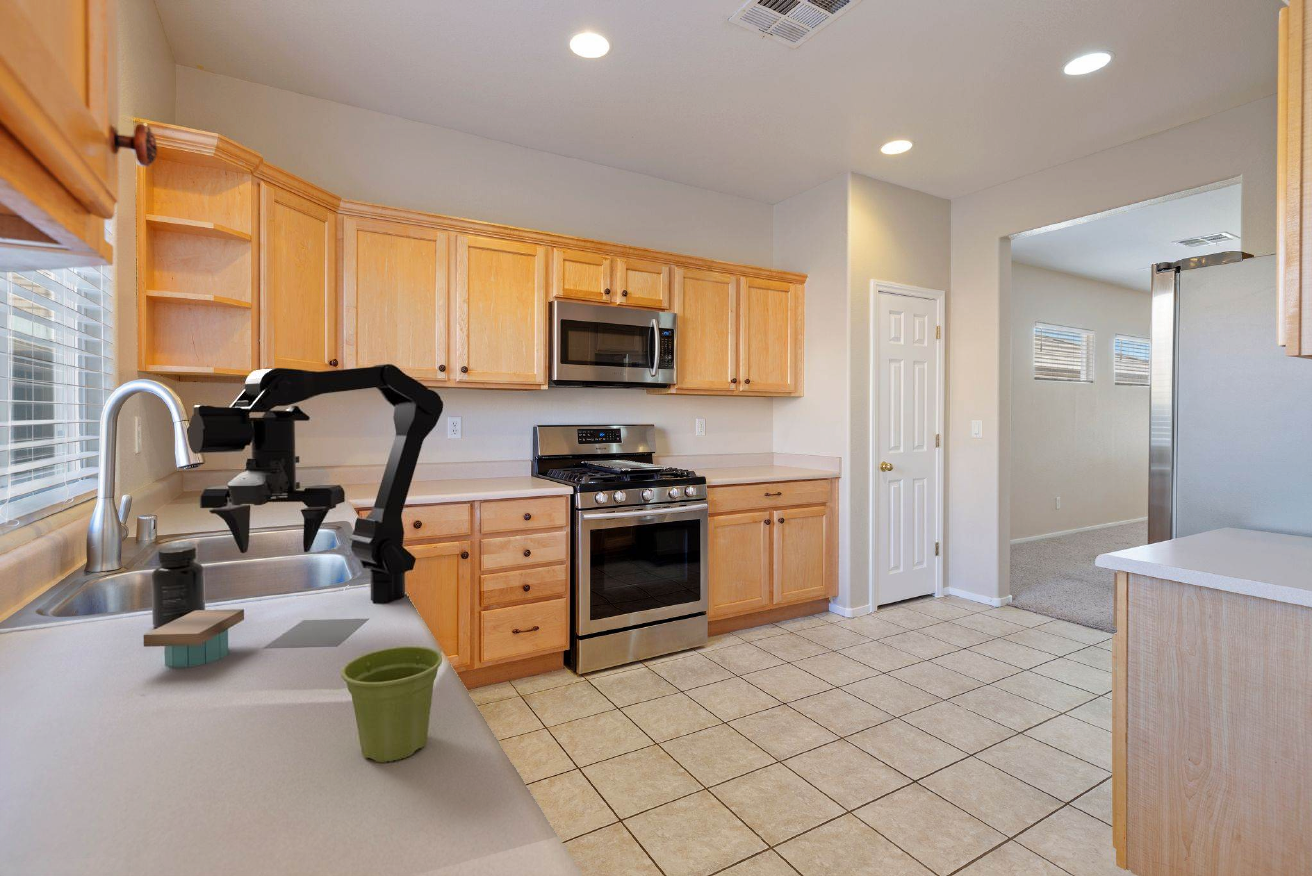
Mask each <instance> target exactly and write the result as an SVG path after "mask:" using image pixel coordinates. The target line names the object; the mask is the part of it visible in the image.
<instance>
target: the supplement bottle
mask: <svg viewBox="0 0 1312 876" xmlns="http://www.w3.org/2000/svg"><path fill="white" fill-rule="evenodd" d="M197 558H198V556H197V548H196V547H195V546H177V547H170V548H165V549H160V550H159V551H158V560H157V561H158V564H160V566H158V567H156V568H155V569H154V570H153V572H152V573H151V575H150V577H151V578H150V580H151V581H150V582H151V583H150V584H151V609H152V614H151V615H152V625H153V626H154V628H155V629H157V628H159V627H161V626H163V625H165V624H168V623H170V622H172V621H174V620H176V619H178V618H180V617H182V616H184V615H187V614H189V613H191V612H193V611H195V610H206V589H205V588H206V587H205V583H206V582H205V568H204V567H203V565H202V564H201V563H199V562H196V560H197Z"/></svg>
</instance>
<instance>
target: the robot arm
mask: <svg viewBox="0 0 1312 876" xmlns="http://www.w3.org/2000/svg"><path fill="white" fill-rule="evenodd" d="M374 388H375V389H377V390H378V391H379V393H380V394H381V395H382V397H383V398H384V399H385V401H386V402H387V403H388V404H390V405H391V406H392V407H394V409H393V417H392V418H393V424H394V428H395V429H394V430H395V436H394V439H393V443H392V447H391V449H390V452H389V456H388V458H387V463H386V466H385V469H384V472H383V475H382V479H381V482H380V485H379V488H378V491H377V495H376V498H375V502H374V505H373V508H372V510H371V511H370V512H369V513H368V515H367V516H366V517H360V516H358V517H357V518H356V519H355V521H354V529H353V532H352V534H351V535H350V537H349V539H348V540H350V541H351V544H350V546H351V547H350V549H351V552H352V553H353V555H354V557H355V558H356V559H358V560H359V562H360V564H361V567H362V568H363V569H368V570H369V575H370V577H369V578H370V580H369V581H370V587H369V588H370V601H371V602H372V604H373V605H375V604H377V605H379V604H390V603H393V602H395V601H398V600H402V599H404V598H405V597H406V572H409V571H413V570H414V568H415V564H416V560H417V557H415V556H414V555H413V554H412V553H411V552H409V551H408V550H407V549H406V547H404V546H403V545H404V538H405V529H404V523H403V517H402V516H403V515H402V514H403V511H404V508H405V504H406V501H407V499H408V495H409V490H410V487H411V483H412V480H413V477H414V473H415V470H416V467H417V464H418V460H419V457H420V454H421V453H420V452H421V450H422V447H423V443H424V440H425V439H426V438H427V436H428V435H429V434H430V433H431V432H432V431H433V430H434V429H435V427H436V426H437V424H438V421H439V420H440V418H441V415H442V414H443V409H444V402H443V400H442V399H441V396H440V395H439V393H438V392H436V391H435V390H434V389H433V390H432V389H429V388H427V386H425V384H423V383H421V382H419V380H416V379H414V378H413V377H411V376H409V375H408V374H406V373H405V372H404V371H402V370H401V369H400V368H399V366H396V365H394V364H390V363H386V364H385V363H383V364H375V365H374V366H367V367H358V368H347V369H346V368H344V369H336V370H335V369H334V370H323V371H322V370H321V371H314V370H306V369H298V368H297V369H296V368H287V367H286V368H285V367H277V368H274V367H273V368H264V369H258V370H254V371H252V372H251V373H250V374H249V375H247V378H246V380H245V382H244V389H243V390H242V392H241V393H240V394H239V395H238V397H237V398H236V399H235V400H234V401H233V402H232V403H231V405H230V406H213V405H205V404H202V405H194V406H193V414H192V416H191V418H190V421H189V426H188V427H187V429H186V433H187V442H188V445H189V448H190V450H191V452H192V453H193V454H194V455H195V454H220V453H221V454H222V453H223V454H224V453H225V454H226V453H241V452H243V451H244V450H245V449H246V447H247V446H250V445H251V457H250V458H246V462H245V469H244V471H243V472H241V473H239V474H237V475H236V477H235V476H234V478H233V479H231V480H230V481H229V482H227V485H218V486H213V487H208V488H204V489H203V490H202V492H201V494H200V496H199V508H200V509H209V511H208V512H209V513H210V514H215V515H217V516H218V517H220V518H221V519H222V520H223V521H224V522H225V523H226V525H227V526H228V528H229V530H230V532H231V534H232V536H233V539H234V541H235V543H236V545H237V547H238V550H239V552H240V554H245V553H247V552H248V549H249V543H250V530H251V529H250V527H251V526H250V525H251V524H250V522H251V505H254V506H263V505H267V503H303V504H304V505H305V506H306V507H305V508H301V509H300V512H301V514H302V518H303V539H302V542H303V543H302V544H303V545H302V546H303V552H304V553H308V552H310V551H311V549H312V547H313V544H314V542H315V539H316V537H317V535H318V532H319V530H320V528H321V526H322V523H323V521H324V520H325V518H326V516H327V514H328V513H329V512H330V510H332V509H336V508H337V505H339V504H342V503H345V499H346V497H345V496H346V494H345V493H346V491H345V490H344V488H343V487H342V485H340V484H318V485H313V486H312V485H311V486H308V487H305V488H303V489H301V483H300V481H297V479H296V477H297V476H296V475H297V470H296V469H297V468H296V467H297V465H296V464H298V463H300V456H299V455H296V422H306V421H307V422H309V421H310V420H311V418H310V416H309V415H307V414H306V413H305V412H304V411H302V409H300V407H299V406H298V405H293V404H297V403H299V402H303V401H306V400H309V399H311V398H315V397H316V396H320V395H323V394H331V393H342V392H348V391H349V392H350V391H356V390H364V389H365V390H366V389H374ZM290 405H291V406H290ZM286 406H289V407H288V408H287V409H286V410H284V409H283V410H282V409H280V410H278V409H277V410H276V409H275V410H273V409H274V408H276V407H286ZM251 413H263V415H262V417H250V414H251Z"/></svg>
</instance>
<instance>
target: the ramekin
mask: <svg viewBox="0 0 1312 876" xmlns="http://www.w3.org/2000/svg"><path fill="white" fill-rule="evenodd" d="M227 655H229V628H228V629H227V630H225V631H223V632H221V633H220V634H218V635H216V636H214V637H212V638H211V639H209V640H207V641H205V642H204V643H202V644H200V645H191V646H164V665H165V666H167V667H171V668H188V667H189V668H190V667H195V666H199V665H204V664H205V665H206V664H209V663H212V662H215V661H217V660H220V659H222V658H224V657H226V656H227Z"/></svg>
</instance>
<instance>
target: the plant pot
mask: <svg viewBox="0 0 1312 876" xmlns="http://www.w3.org/2000/svg"><path fill="white" fill-rule="evenodd" d="M442 662H443V655H442V653H441V652H439V651H438V650H436V649H433V648H430V647H428V646H427V647H426V646H411V645H410V646H408V645H407V646H395V647H388V648H382V649H380V650H379V649H378V650H374V651H372V652H368V653H366V654H362V655H359V656H358V657H356V658H354V659H351V660H350V661H349V662H347V663H346V664H345V665H343V667H342V669H341V670H340V674H341V675H340V676H341V678H342V680H343V681H344V682H346V686H347V687H346V688H347V691H348V692H349V693H350V695H351V699H352V705H353V711H354V716H355V721H356V727H357V732H358V739H359V744H360V748H361V754H362V757H364V759H369V758H370V759H372V760H374V761H375V762H377V763H388V762H387V761H389V762H394V761H393V760H395V761H399V760H402V758H403V759H406V758H408V757H407V756H409V757H411V756H413V754H414V753H415V752H416V751H417V750H419V749H423V748H424V747H425V745H427V741H428V736H429V735H428V734H429V726H430V725H429V724H430V716H431V708H432V701H433V700H432V699H433V692H434V683H435V680H436V678H437V676H438V675H437V674H438V670H439V667H441V664H442ZM422 747H423V748H422ZM410 755H411V756H410ZM398 759H399V760H398Z"/></svg>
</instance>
